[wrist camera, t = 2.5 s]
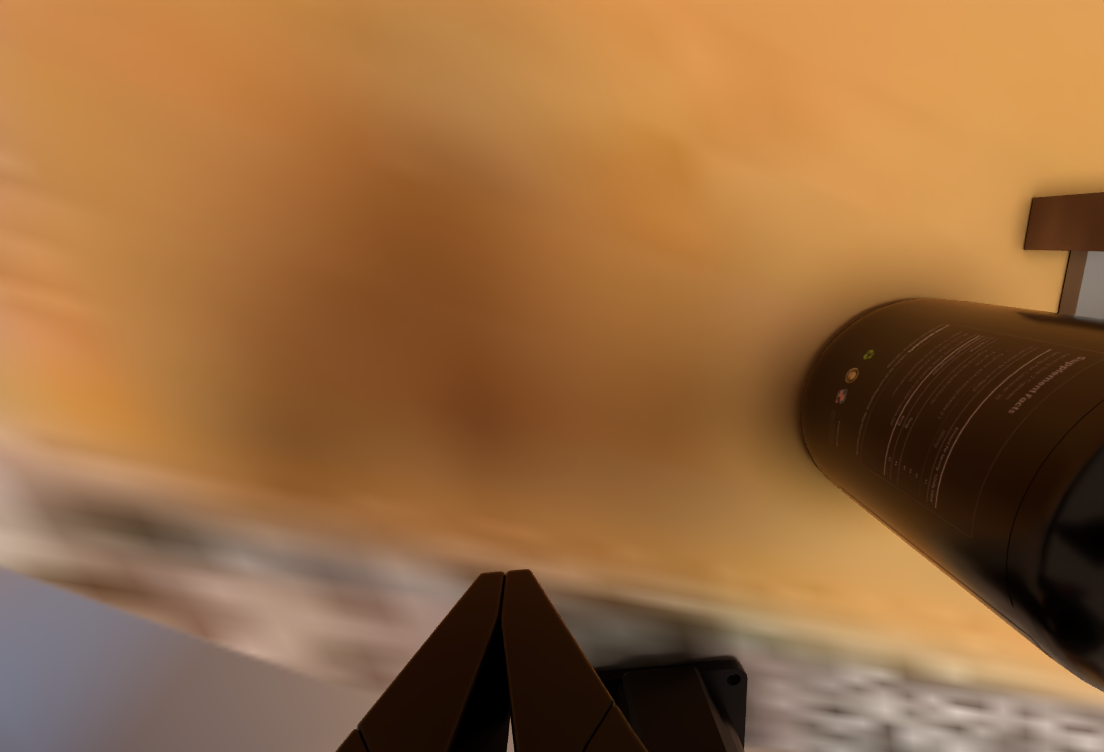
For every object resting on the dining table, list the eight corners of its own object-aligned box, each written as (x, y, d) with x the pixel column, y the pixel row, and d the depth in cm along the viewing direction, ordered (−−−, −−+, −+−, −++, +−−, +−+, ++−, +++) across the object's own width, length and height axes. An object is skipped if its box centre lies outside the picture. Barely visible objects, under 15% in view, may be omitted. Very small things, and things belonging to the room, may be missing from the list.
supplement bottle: (1040, 345, 16) (2259, 602, 5) (919, 519, 18) (1629, 1032, 6) (865, 255, 15) (1876, 308, 4) (752, 448, 17) (1234, 900, 5)
